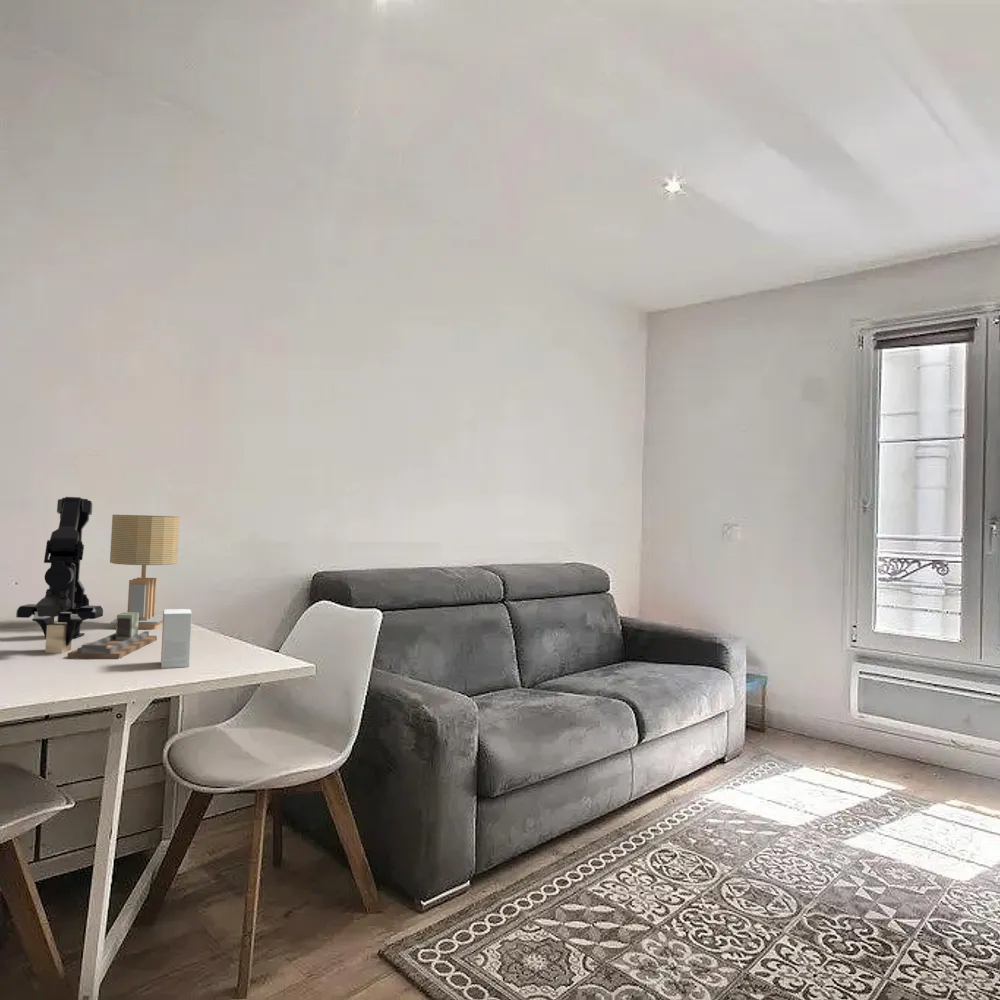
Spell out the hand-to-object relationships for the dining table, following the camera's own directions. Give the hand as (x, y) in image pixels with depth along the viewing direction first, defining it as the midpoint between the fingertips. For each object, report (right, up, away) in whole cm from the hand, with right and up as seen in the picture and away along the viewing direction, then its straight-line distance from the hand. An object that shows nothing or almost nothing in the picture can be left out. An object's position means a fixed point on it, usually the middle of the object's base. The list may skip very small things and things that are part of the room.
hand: (58, 645), depth 187 cm
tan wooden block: (0, -2, 0) cm, 2 cm away
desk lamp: (-1, -3, +45) cm, 45 cm away
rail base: (+11, -2, +7) cm, 13 cm away
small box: (+35, -3, -10) cm, 36 cm away
